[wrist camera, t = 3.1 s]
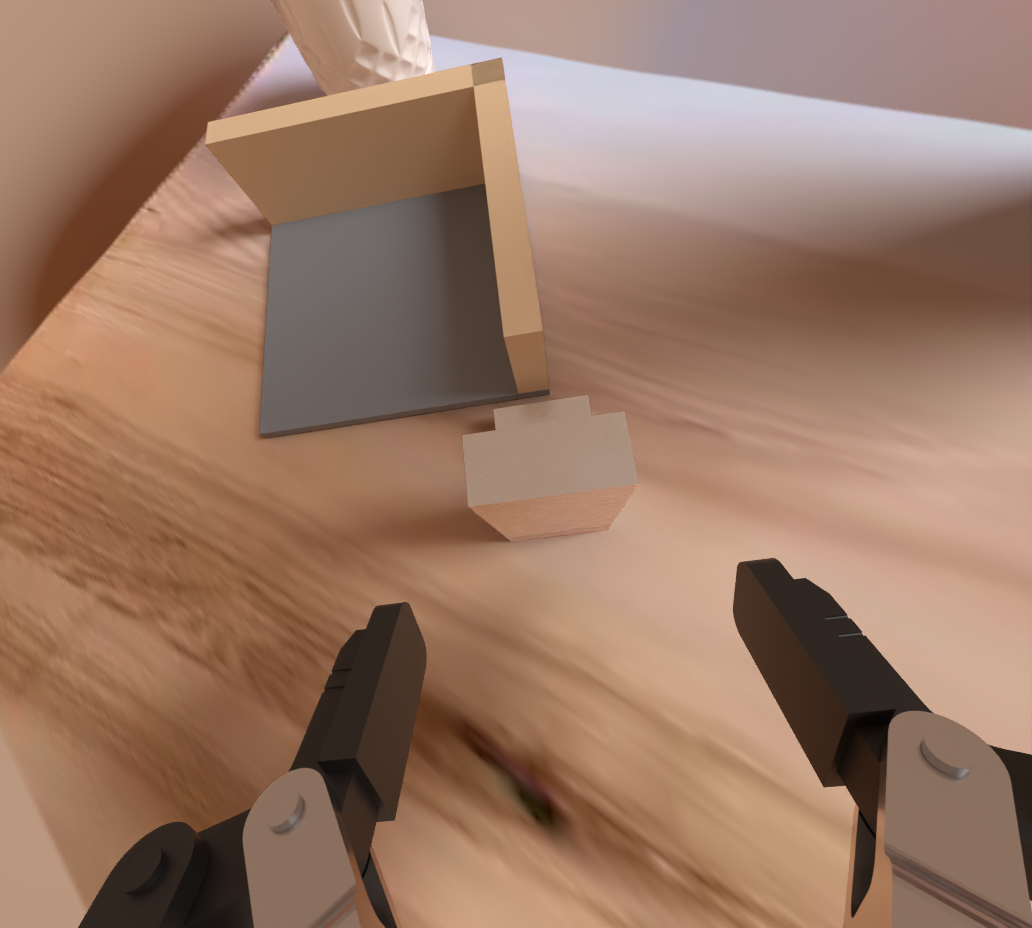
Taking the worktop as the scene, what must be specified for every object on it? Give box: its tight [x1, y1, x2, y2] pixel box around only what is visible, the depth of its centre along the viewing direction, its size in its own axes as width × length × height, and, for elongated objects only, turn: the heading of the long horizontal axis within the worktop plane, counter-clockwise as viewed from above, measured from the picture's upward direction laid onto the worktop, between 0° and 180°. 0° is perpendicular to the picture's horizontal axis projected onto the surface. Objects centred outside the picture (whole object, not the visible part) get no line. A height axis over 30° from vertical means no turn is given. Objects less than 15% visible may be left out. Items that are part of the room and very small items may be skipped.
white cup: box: [272, 0, 435, 96], centre depth 24 cm, size 8×8×10 cm
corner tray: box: [205, 58, 549, 438], centre depth 22 cm, size 15×15×6 cm
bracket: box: [462, 395, 639, 542], centre depth 16 cm, size 4×6×9 cm
